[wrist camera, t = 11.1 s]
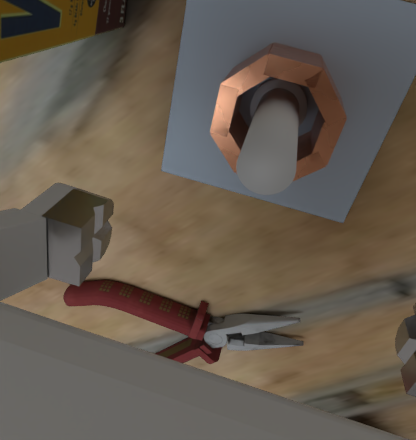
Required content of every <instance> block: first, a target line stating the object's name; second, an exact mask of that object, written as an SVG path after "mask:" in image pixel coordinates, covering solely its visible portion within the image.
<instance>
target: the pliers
mask: <svg viewBox="0 0 416 440" xmlns="http://www.w3.org/2000/svg"><path fill="white" fill-rule="evenodd" d="M64 301H65V303H66V305H68V306H86V305H102V306H107V307H112V308H115V309H119V310H122V311H124V312H127V313H130V314H132V315H135V316H138V317H140V318H143V319H146V320H148V321H151V322H153V323H156V324H159V325H161V326H164V327H167V328H169V329H172V330H175V331H177V332H180V333H182V334H185V335H188V338H186V339H184V340H182V341H180V342H178V343H176V344H174V345H172V346H170V347H168V348H166V349H164V350H162V351H160V352H158V353H156V354H157V355H160V356H162V357H165V358H168V359H171V360H174V361H177V362H180V363H184V362H187V361H189V360H191V359H193V358H196V357H198V356H200V357H201V358H202V359H204V360H205V361H206V362H207V363H209V364H212V363H214V362H217V361H218V360H219V357H220V353H221V349H222V347H223V346H225V345H226V343H227V349H228V350H258V349H269V348H280V347H291V346H303V341H300V340H296V339H292V338H288V337H283V336H279V335H275V334H271V333H267V332H263V331H267V330H271V329H275V328H278V327H282V326H286V325H290V324H294V323H298V322H300V318H296V317H282V316H269V315H255V314H232V315H226V316H225V319H223V318H219V317H211V316H210V314H207V313H206V310H207V307H208V304H209V303H206V302H203V301H201V303H200V306H199V308H198V310H195V309H192V308H190V307H187V306H184V305H182V304H179V303H176V302H174V301H171V300H168V299H166V298H163V297H160V296H158V295H155V294H152V293H150V292H147V291H144V290H142V289H139V288H136V287H134V286H131V285H127V284H124V283H120V282H116V281H110V280H97V281H86V282H82V284H81V285H80V286H76V285H73V284H72V285H70V286H69V287H68V288H67V289H66V291H65V293H64Z"/></svg>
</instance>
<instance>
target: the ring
mask: <svg viewBox="0 0 416 440" xmlns="http://www.w3.org/2000/svg"><path fill="white" fill-rule="evenodd" d="M269 77H274V78H277V79H281V80H285V81H288V82H292V83H296V84H299V85H303V86H307V87H308V88H309V90H310V92H311V94H312V96H313V98H314V100H315V102H316V104H317V106H318V108H319V110H318V113H317V116H316V118H315V121H314V124H313V126H312V129H311V131H309V132H307V133H305V134H303V135H301V136H299V137H298V144H297V164H296V174H295V177H294V179H293V181H295V180H297V179H300V178H302V177H304V176H306V175H309V174H311V173H313V172H315V171H317V170H320V169H322V168H324V167H326V165H328V162H329V160H330V158H331V155H332V153H333V150H334V148H335V146H336V143H337V141H338V139H339V136H340V134H341V132H342V129H343V127H344V125H345V122H346V120H347V118H346V117H347V116H346V112H345V109H344V105H343V102H342V98H341V96H340V94H339V92H338V89H337V87H336V85H335V83H334V81H333V79H332V77H331V74H330V72H329V70H328V68H327V66H326V64H325V62H324V60H323V57H322V55H320V54H317V53H313V52H309V51H306V50H302V49H298V48H294V47H290V46H287V45H283V44H279V43H275V42H274V44H273V43H271V44H270V45H268V46H267V47H265V48H264V49H262V50H260V51H259V52H257V53H256V54H254V55H253V56H251V57H249V58H248V59H246V60H245V61H243V62H242V63H240V64H238V65H237V66H235V67H234V68H233V69H232V70H231V71H230V72H229V74H228V75H227V76H226V77H225V79H224V80H223V81H222V83H221V84H220V88H219V93H218V97H217V102H216V106H215V111H214V115H213V120H212V124H211V129H210V135H211V136H212V138H213V139H214V141H215V143H216V144H217V146H218V147H219V149H220V151H221V152H222V154H223V155H224V157H225V159H226V160H227V162H228V163H229V165H230V167H231V168H232V170H233V171H234V173H235V172H236V174H237V170H236V164H237V160H238V157H239V154H240V152H241V149H242V146H243V143H244V141H245V138H246V135H247V133H248V130H249V127H248V126H247V124H246V122H245V120H244V119H243V117H242V115H241V113H240V112H239V108H240V104H241V100H242V96H243V93H244V92H245V91H247V90H249V89H250V88H252V87H254V86H255V85H257V84H259V83H260V82H262V81H264V80H266V79H267V78H269ZM293 181H292V182H293Z"/></svg>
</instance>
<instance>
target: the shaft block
mask: <svg viewBox="0 0 416 440" xmlns="http://www.w3.org/2000/svg"><path fill="white" fill-rule="evenodd" d="M274 42H275V43H279V44H283V45H287V46H290V47H294V48H298V49H302V50H306V51H309V52H313V53H317V54H320V55H322V57H323V60H324V62H325V64H326V66H327V68H328V70H329V72H330V74H331V77H332V79H333V81H334V83H335V85H336V87H337V89H338V92H339V94H340V96H341V98H342V102H343V105H344V109H345V112H346V116H347V117H346V118H347V120H346V122H345V125H344V127H343V129H342V132H341V134H340V136H339V139H338V141H337V143H336V146H335V148H334V150H333V153H332V155H331V158H330V160H329V162H328V165H326V167H324V168H322V169H320V170H317V171H315V172H313V173H311V174H309V175H306V176H304V177H302V178H300V179H297V180H295V181H293V179H294V177H295V174H296V164H297V144H298V137H299V136H301V135H303V134H305V133H307V132H309V131H311V129H312V126H313V124H314V121H315V118H316V116H317V113H318V110H319V108H318V106H317V104H316V102H315V100H314V98H313V96H312V94H311V92H310V90H309V88H308V87H307V86H303V85H299V84H296V83H292V82H288V81H285V80H281V79H277V78H274V77H269V78H267V79H266V80H264V81H262V82H260V83H259V84H257V85H255V86H254V87H252V88H250V89H249V90H247V91H245V92H244V93H243V96H242V100H241V104H240V108H239V112H240V113H241V115H242V117H243V119H244V120H245V122H246V124H247V126H248V127H249V130H248V133H247V135H246V138H245V141H244V143H243V146H242V149H241V152H240V154H239V157H238V160H237V164H236V170H237V174H236V172H235V173H234V171H233V170H232V168H231V167H230V165H229V163H228V162H227V160H226V159H225V157H224V155H223V154H222V152H221V151H220V149H219V147H218V146H217V144H216V143H215V141H214V139H213V138H212V136H211V135H210V129H211V124H212V120H213V115H214V111H215V106H216V102H217V97H218V93H219V88H220V84H221V83H222V81H223V80H224V79H225V77H226V76H227V75H228V74H229V72H230V71H231V70H232V69H233V68H234V67H235V66H237V65H238V64H240V63H242V62H243V61H245V60H246V59H248V58H249V57H251V56H253V55H254V54H256V53H257V52H259V51H260V50H262V49H264V48H265V47H267V46H268V45H270V44H271V43H273V44H274ZM415 75H416V4H413V3H409V2H405V1H401V0H187V3H186V10H185V16H184V23H183V30H182V36H181V43H180V50H179V56H178V63H177V69H176V76H175V83H174V89H173V96H172V102H171V109H170V116H169V122H168V129H167V135H166V142H165V149H164V155H163V162H162V169H161V171H163V172H167V173H170V174H174V175H177V176H181V177H184V178H188V179H191V180H195V181H198V182H202V183H205V184H209V185H212V186H216V187H219V188H222V189H226V190H229V191H233V192H236V193H240V194H243V195H247V196H250V197H254V198H257V199H261V200H264V201H268V202H271V203H275V204H278V205H282V206H285V207H288V208H292V209H295V210H299V211H302V212H306V213H309V214H313V215H316V216H320V217H323V218H327V219H330V220H334V221H337V222H341V223H343V222H344V220H345V218H346V216H347V214H348V212H349V210H350V208H351V206H352V204H353V202H354V200H355V198H356V196H357V194H358V192H359V190H360V187H361V185H362V183H363V181H364V179H365V177H366V175H367V173H368V171H369V169H370V167H371V165H372V163H373V161H374V159H375V157H376V155H377V153H378V151H379V149H380V147H381V145H382V143H383V141H384V139H385V136H386V134H387V132H388V130H389V128H390V126H391V124H392V122H393V120H394V118H395V116H396V114H397V112H398V110H399V108H400V106H401V104H402V102H403V100H404V98H405V96H406V94H407V92H408V90H409V87H410V85H411V83H412V81H413V79H414V77H415ZM292 181H293V182H292Z"/></svg>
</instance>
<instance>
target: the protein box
mask: <svg viewBox="0 0 416 440" xmlns="http://www.w3.org/2000/svg"><path fill="white" fill-rule="evenodd" d="M126 1H127V0H0V63H1V62H4V61H8V60H12V59H16V58H19V57H23V56H27V55H30V54H34V53H37V52H41V51H44V50H48V49H51V48H54V47H58V46H62V45H65V44H68V43H72V42H75V41H79V40H82V39H85V38H89V37H92V36H95V35H99V34H102V33H105V32H109V31H112V30H116V29H119V28H123V27H124V21H125V11H126Z"/></svg>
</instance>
